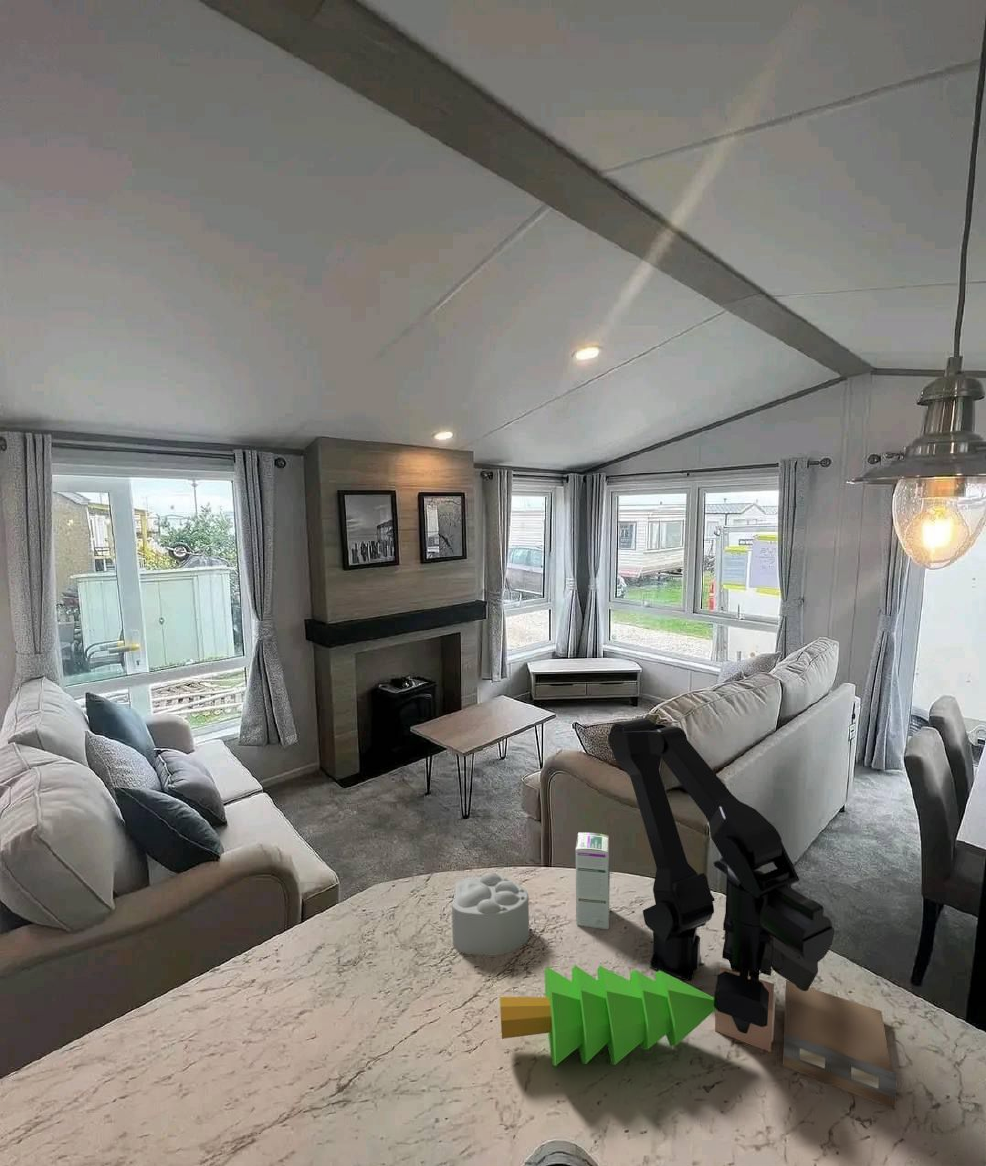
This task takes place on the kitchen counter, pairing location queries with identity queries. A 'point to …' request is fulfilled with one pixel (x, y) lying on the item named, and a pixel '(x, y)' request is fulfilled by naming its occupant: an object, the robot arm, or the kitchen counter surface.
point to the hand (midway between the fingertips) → (744, 1016)
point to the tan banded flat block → (838, 1044)
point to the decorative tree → (606, 1012)
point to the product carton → (755, 1033)
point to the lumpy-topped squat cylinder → (489, 915)
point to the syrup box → (592, 880)
